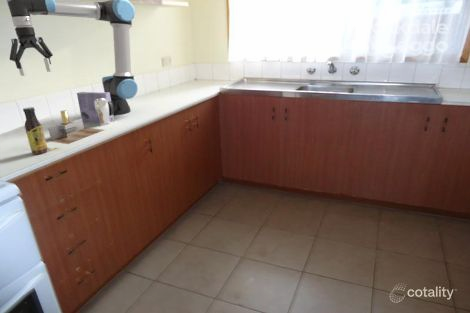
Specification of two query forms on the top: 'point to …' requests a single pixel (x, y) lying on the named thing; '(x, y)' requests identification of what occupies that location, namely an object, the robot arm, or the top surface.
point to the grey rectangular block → (59, 131)
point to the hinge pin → (64, 117)
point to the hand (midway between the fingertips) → (36, 73)
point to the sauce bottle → (34, 132)
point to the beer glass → (102, 110)
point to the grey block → (71, 124)
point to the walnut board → (77, 136)
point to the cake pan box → (88, 105)
